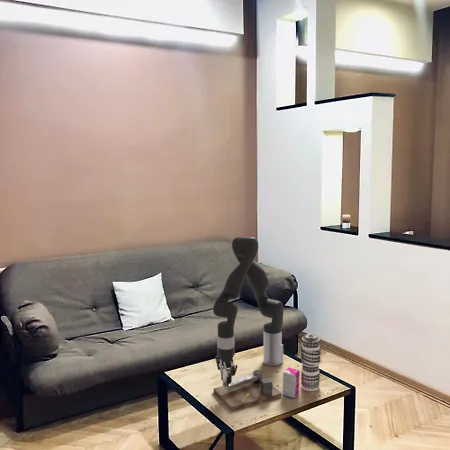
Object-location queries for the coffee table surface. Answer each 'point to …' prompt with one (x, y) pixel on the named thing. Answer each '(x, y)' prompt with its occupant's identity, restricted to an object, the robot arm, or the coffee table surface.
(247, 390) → the brown board
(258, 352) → the coffee table surface
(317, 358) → the white patterned cylinder
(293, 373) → the supplement box
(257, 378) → the lever
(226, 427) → the coffee table surface
